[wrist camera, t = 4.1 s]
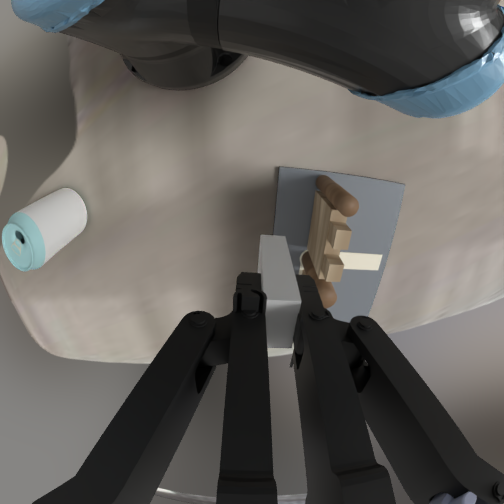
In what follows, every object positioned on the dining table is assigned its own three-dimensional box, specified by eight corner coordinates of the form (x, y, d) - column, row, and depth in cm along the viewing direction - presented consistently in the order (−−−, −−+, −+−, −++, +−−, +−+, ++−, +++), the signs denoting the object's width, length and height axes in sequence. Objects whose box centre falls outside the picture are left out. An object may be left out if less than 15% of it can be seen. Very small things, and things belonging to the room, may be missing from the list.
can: (50, 187, 30) (-7, 217, 19) (86, 185, 30) (27, 218, 19) (57, 232, 33) (7, 272, 22) (92, 235, 33) (43, 280, 22)
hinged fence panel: (306, 248, 33) (321, 290, 25) (316, 174, 29) (340, 194, 21) (320, 248, 33) (339, 290, 25) (331, 175, 29) (360, 197, 21)
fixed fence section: (289, 321, 39) (297, 372, 30) (302, 248, 34) (317, 293, 25) (305, 321, 39) (316, 372, 30) (320, 249, 34) (341, 294, 25)
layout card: (263, 321, 39) (263, 323, 39) (279, 166, 29) (279, 167, 29) (364, 322, 39) (365, 324, 39) (403, 184, 29) (405, 184, 29)
